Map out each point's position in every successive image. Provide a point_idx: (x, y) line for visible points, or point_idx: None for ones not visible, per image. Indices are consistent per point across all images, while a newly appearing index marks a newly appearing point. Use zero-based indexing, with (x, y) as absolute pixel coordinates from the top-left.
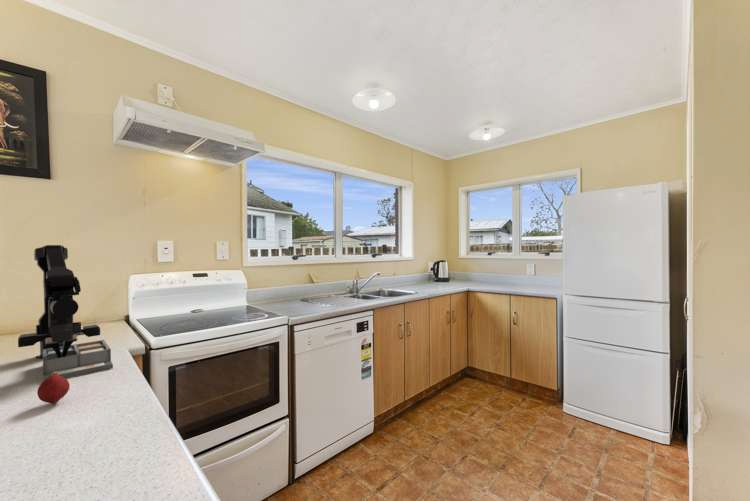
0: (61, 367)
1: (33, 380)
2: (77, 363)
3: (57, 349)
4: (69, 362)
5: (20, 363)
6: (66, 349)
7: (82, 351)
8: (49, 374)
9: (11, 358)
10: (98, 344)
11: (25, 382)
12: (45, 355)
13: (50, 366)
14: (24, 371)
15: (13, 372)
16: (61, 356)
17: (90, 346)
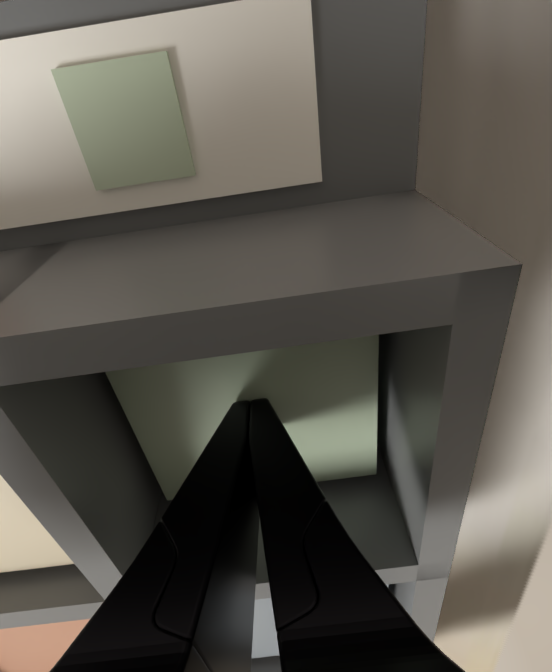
0: (231, 234)
1: (473, 204)
2: (41, 264)
3: (314, 580)
4: (125, 270)
5: (468, 601)
6: (162, 561)
7: (68, 557)
8: (354, 120)
9: (483, 656)
10: (12, 667)
11: (540, 179)
12: (432, 545)
13: (365, 229)
14: (479, 484)
15: (529, 495)
16: (251, 453)
17: (62, 649)
